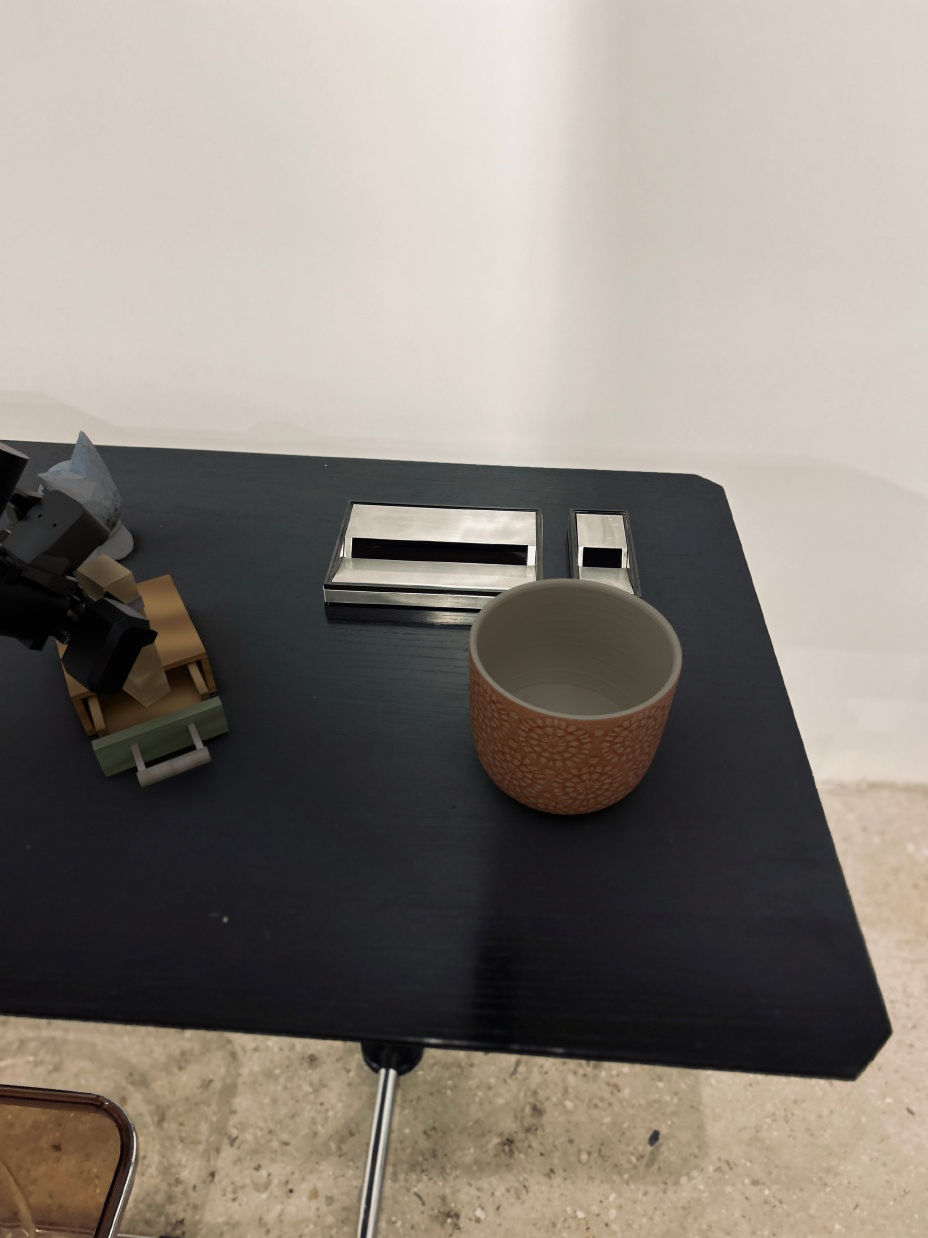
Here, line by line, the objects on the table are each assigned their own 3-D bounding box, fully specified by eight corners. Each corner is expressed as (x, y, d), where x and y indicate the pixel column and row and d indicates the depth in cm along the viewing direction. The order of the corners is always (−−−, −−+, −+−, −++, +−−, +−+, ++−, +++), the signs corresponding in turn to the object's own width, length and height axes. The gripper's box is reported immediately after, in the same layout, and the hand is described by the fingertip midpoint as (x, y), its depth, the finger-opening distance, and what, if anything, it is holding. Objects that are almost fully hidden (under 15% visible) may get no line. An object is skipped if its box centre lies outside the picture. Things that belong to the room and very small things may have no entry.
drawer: (244, 765, 71) (237, 737, 68) (116, 815, 66) (104, 788, 64) (191, 648, 83) (183, 621, 80) (80, 684, 78) (68, 657, 76)
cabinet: (216, 690, 79) (206, 651, 76) (88, 736, 74) (70, 696, 71) (180, 612, 89) (169, 573, 85) (64, 647, 84) (47, 609, 80)
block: (146, 708, 69) (102, 588, 61) (118, 687, 71) (72, 568, 63) (172, 691, 71) (133, 571, 62) (145, 671, 73) (104, 552, 64)
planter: (679, 829, 67) (717, 706, 57) (483, 855, 65) (489, 731, 55) (618, 689, 80) (641, 569, 70) (454, 707, 78) (454, 586, 68)
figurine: (99, 524, 102) (63, 417, 93) (151, 542, 99) (119, 434, 89) (37, 563, 96) (-9, 452, 86) (91, 584, 92) (48, 472, 83)
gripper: (86, 528, 49) (251, 585, 63) (-53, 441, 58) (119, 507, 72) (10, 686, 50) (191, 708, 63) (-117, 575, 58) (66, 615, 72)
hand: (140, 627), depth 68 cm, fingers closed on block, 4 cm apart
